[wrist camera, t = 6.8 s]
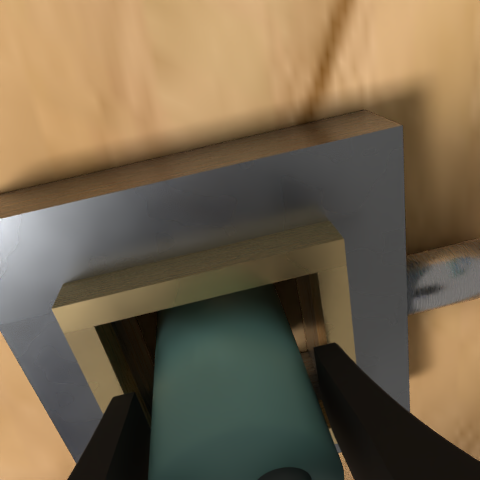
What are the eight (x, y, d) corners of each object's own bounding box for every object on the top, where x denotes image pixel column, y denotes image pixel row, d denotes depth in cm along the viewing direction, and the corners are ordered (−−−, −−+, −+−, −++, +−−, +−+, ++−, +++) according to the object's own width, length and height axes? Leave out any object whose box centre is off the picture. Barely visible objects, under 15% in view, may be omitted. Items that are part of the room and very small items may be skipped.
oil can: (176, 369, 17) (178, 620, 10) (141, 276, 15) (111, 510, 8) (287, 342, 17) (367, 569, 10) (268, 245, 15) (352, 447, 8)
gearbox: (113, 454, 18) (99, 546, 15) (-17, 198, 13) (-83, 254, 10) (470, 364, 19) (532, 435, 16) (488, 81, 13) (589, 96, 10)
